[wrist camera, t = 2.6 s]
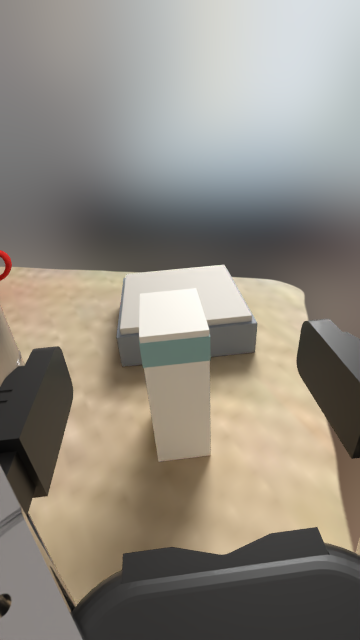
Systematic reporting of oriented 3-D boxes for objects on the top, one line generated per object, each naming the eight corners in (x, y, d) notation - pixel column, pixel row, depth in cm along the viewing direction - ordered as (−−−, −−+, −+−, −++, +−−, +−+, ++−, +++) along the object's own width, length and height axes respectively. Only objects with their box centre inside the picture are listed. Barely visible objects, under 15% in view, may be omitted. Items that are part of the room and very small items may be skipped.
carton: (157, 462, 27) (138, 337, 20) (155, 407, 32) (139, 293, 25) (211, 455, 27) (210, 330, 20) (200, 402, 33) (196, 287, 26)
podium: (122, 366, 38) (115, 331, 35) (127, 301, 52) (122, 272, 49) (254, 352, 39) (257, 317, 36) (226, 291, 52) (226, 263, 50)
